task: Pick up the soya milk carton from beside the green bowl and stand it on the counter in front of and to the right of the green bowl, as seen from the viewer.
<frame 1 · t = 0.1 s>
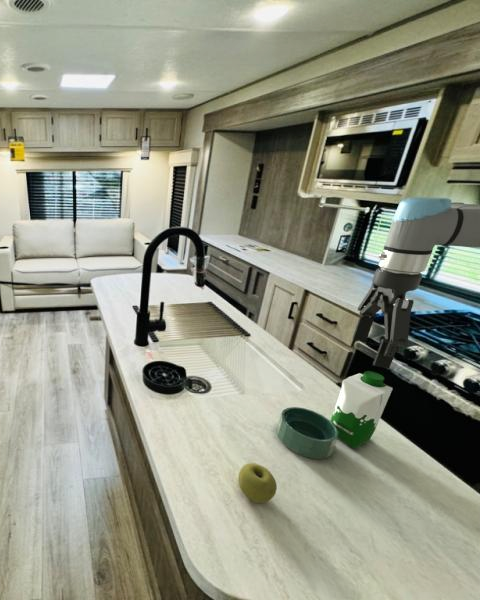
hand: (369, 352, 77), 29 cm above the counter, tool pointing down, fingers open, 13 cm apart
soya milk: (347, 436, 89), on the counter
green bowl: (303, 441, 88), on the counter
apple: (253, 494, 74), on the counter
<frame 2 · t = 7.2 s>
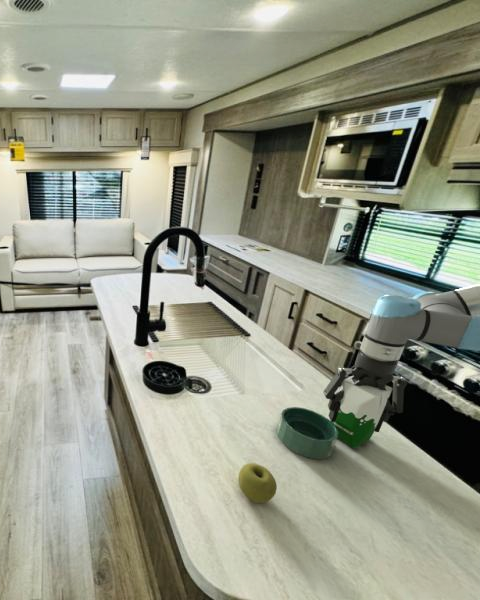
hand: (352, 423, 88), 4 cm above the counter, tool pointing down, fingers closed on soya milk, 9 cm apart
soya milk: (347, 436, 89), on the counter, touching gripper
everything else where it was.
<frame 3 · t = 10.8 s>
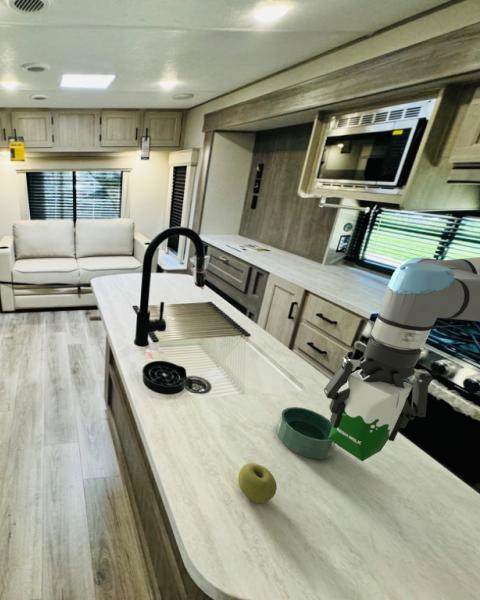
hand: (360, 429, 70), 17 cm above the counter, tool pointing down, fingers closed on soya milk, 9 cm apart
soya milk: (353, 445, 71), point 12 cm above the counter, touching gripper
everything else where it was.
when the fingers open (4 cm above the counter, at t = 14.5 s): soya milk stays where it is, on the counter.
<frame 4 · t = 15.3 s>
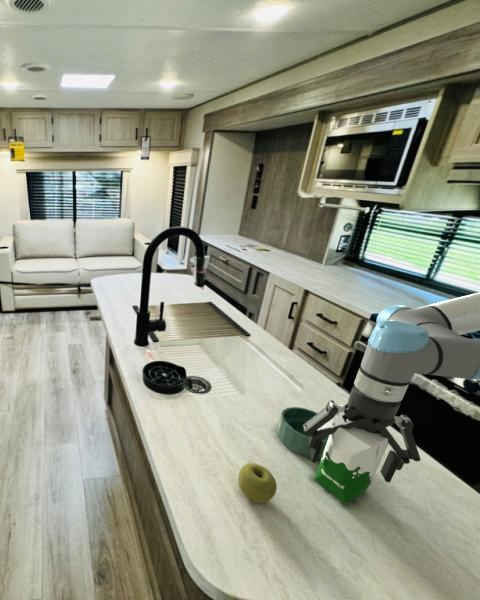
hand: (347, 467, 72), 6 cm above the counter, tool pointing down, fingers open, 13 cm apart
soya milk: (337, 486, 75), on the counter
everything else where it was.
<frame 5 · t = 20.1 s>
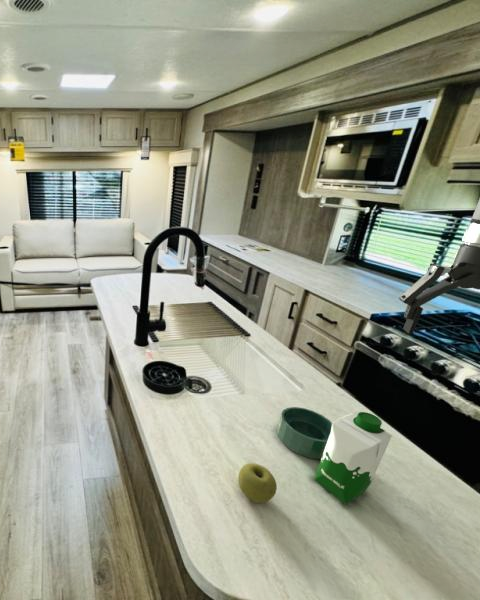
hand: (446, 336, 72), 35 cm above the counter, tool pointing down, fingers open, 13 cm apart
nothing on the counter moved.
at the end: soya milk inside the target area on the counter beside the green bowl (0.2 cm from its centre), on the counter; soya milk tilted 0°; the gripper is holding nothing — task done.
